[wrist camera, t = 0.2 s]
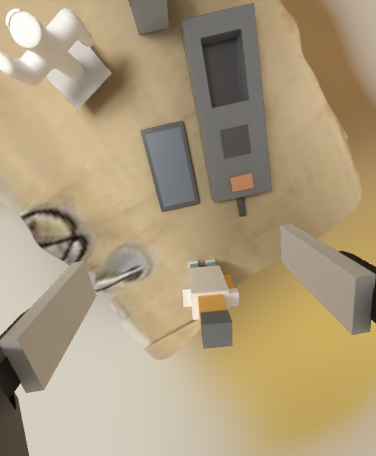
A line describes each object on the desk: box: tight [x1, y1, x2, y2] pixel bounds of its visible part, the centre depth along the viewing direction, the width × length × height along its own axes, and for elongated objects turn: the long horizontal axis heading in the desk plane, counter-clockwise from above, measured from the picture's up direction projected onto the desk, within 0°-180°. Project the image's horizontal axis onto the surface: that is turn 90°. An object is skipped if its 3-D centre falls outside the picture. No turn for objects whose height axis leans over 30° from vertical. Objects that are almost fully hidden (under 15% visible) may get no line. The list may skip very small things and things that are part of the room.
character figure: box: [183, 259, 239, 348], centre depth 38 cm, size 8×10×18 cm
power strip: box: [181, 3, 272, 217], centre depth 37 cm, size 30×10×4 cm, turn 12°
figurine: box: [0, 8, 112, 111], centre depth 28 cm, size 7×9×15 cm
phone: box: [141, 121, 199, 212], centre depth 39 cm, size 14×7×1 cm, turn 12°
